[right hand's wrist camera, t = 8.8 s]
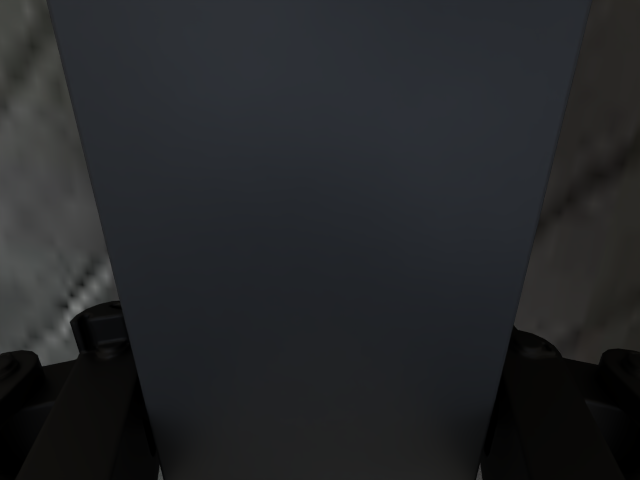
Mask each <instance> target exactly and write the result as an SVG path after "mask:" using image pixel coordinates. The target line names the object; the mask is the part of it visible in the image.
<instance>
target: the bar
mask: <svg viewBox="0 0 640 480" xmlns="http://www.w3.org/2000/svg"><path fill="white" fill-rule="evenodd" d="M591 3H592V0H47V4H48V9H49V13H50V17H51V21H52V25H53V29H54V33H55V37H56V41H57V45H58V49H59V54H60V58H61V62H62V66H63V70H64V74H65V78H66V82H67V86H68V90H69V94H70V99H71V103H72V107H73V111H74V115H75V119H76V123H77V127H78V131H79V135H80V140H81V144H82V148H83V152H84V156H85V160H86V164H87V168H88V172H89V176H90V180H91V185H92V189H93V193H94V197H95V201H96V205H97V209H98V213H99V217H100V221H101V225H102V230H103V234H104V238H105V242H106V246H107V250H108V254H109V258H110V262H111V266H112V271H113V275H114V279H115V283H116V287H117V291H118V295H119V299H120V303H121V307H122V311H123V316H124V320H125V324H126V328H127V332H128V336H129V340H130V344H131V348H132V352H133V356H134V361H135V365H136V369H137V373H138V377H139V381H140V385H141V389H142V393H143V397H144V401H145V406H146V410H147V414H148V418H149V422H150V426H151V430H152V434H153V438H154V442H155V447H156V451H157V455H158V459H159V463H160V467H161V471H162V475H163V479H164V480H476V477H477V473H478V469H479V465H480V461H481V457H482V453H483V448H484V444H485V440H486V436H487V432H488V428H489V424H490V420H491V415H492V411H493V407H494V403H495V399H496V395H497V391H498V387H499V382H500V378H501V374H502V370H503V366H504V362H505V358H506V354H507V349H508V345H509V341H510V337H511V333H512V329H513V325H514V321H515V316H516V312H517V308H518V304H519V300H520V296H521V292H522V288H523V283H524V279H525V275H526V271H527V267H528V263H529V259H530V255H531V250H532V246H533V242H534V238H535V234H536V230H537V226H538V222H539V217H540V213H541V209H542V205H543V201H544V197H545V193H546V188H547V184H548V180H549V176H550V172H551V168H552V164H553V160H554V155H555V151H556V147H557V143H558V139H559V135H560V131H561V127H562V122H563V118H564V114H565V110H566V106H567V102H568V98H569V94H570V89H571V85H572V81H573V77H574V73H575V69H576V65H577V61H578V56H579V52H580V48H581V44H582V40H583V36H584V32H585V28H586V23H587V19H588V15H589V11H590V7H591Z"/></svg>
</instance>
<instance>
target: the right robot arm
mask: <svg viewBox="0 0 640 480" xmlns="http://www.w3.org/2000/svg"><path fill="white" fill-rule="evenodd" d="M70 324H71V327H72V330H73V334H74V337H75V340H76V343H77V346H78V350H79V353H80V354H79V356H78V358H77V359H76V360H72V361H67V362H62V363H57V364H52V365H47V366H41V363H40V360H39V358H38V355H37V354H35V353H34V352H32V351H24V350H20V351H13V352H6V353H2V354H1V355H0V480H158V473H159V465H160V463H159V459H158V455H157V451H156V447H155V442H154V438H153V434H152V430H151V426H150V422H149V418H148V414H147V410H146V406H145V401H144V397H143V393H142V389H141V385H140V381H139V377H138V373H137V369H136V365H135V361H134V356H133V352H132V348H131V344H130V340H129V336H128V332H127V328H126V324H125V320H124V316H123V311H122V307H121V303H120V301H111V302H107V303H102V304H99V305H96V306H93V307H91V308H88V309H86V310H84V311H83V312H81V313H79V314H78V315H76V316H75V317H74V318H73V319H72V320H71V321H70ZM480 464H481V472H482V479H483V480H640V353H639V352H637V351H633V350H625V349H609V350H607V351H606V352H604V353H603V354H602V357H601V359H600V362H599V365H596V364H591V363H586V362H581V361H576V360H571V359H566V358H562V356H561V354H560V352H559V351H558V350H557V349H556V347H555V346H554V345H552V344H551V343H549V342H548V341H547V340H545V339H543V338H541V337H539V336H537V335H534V334H532V333H528V332H524V331H520V330H517V328H516V327H515V326H514V325H513V329H512V333H511V337H510V341H509V345H508V349H507V354H506V358H505V362H504V366H503V370H502V374H501V378H500V382H499V387H498V391H497V395H496V399H495V403H494V407H493V411H492V415H491V420H490V424H489V428H488V432H487V436H486V440H485V444H484V448H483V453H482V457H481V461H480Z"/></svg>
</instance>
